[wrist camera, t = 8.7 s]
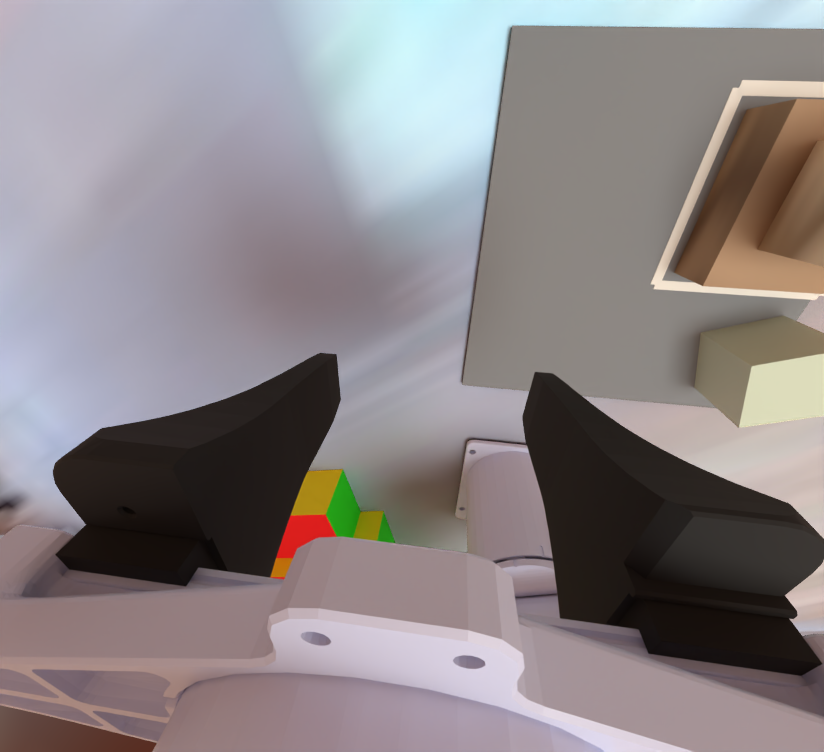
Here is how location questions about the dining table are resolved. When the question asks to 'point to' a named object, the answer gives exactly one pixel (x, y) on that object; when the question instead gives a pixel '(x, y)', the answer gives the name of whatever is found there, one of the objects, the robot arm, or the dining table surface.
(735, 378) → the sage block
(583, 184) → the mat
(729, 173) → the walnut slab
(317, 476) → the building blocks toy
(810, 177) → the beech block
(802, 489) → the dining table surface
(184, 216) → the dining table surface
